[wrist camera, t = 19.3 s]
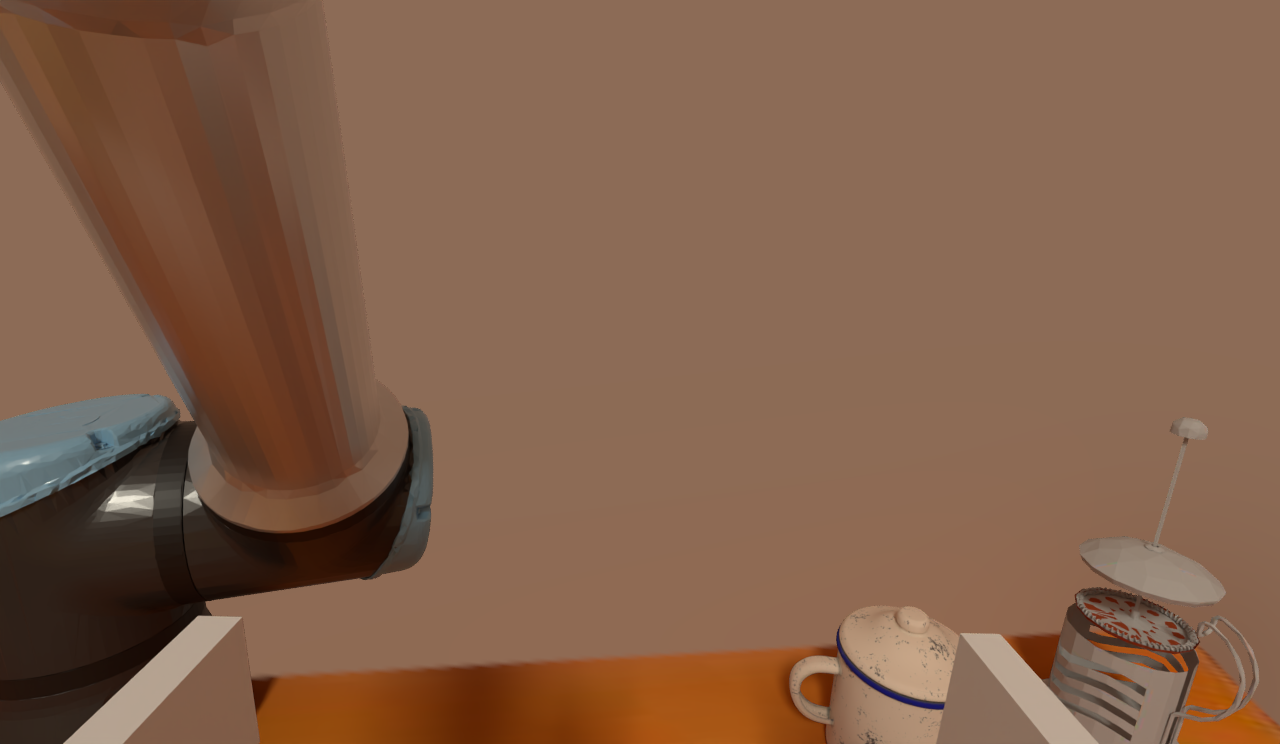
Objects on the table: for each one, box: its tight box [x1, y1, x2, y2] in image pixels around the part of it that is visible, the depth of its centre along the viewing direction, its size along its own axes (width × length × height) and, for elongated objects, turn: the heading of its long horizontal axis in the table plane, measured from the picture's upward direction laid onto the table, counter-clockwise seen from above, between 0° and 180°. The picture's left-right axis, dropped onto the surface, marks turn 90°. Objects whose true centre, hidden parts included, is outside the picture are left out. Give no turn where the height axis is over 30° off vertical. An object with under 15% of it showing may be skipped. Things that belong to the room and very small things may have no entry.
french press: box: [1042, 417, 1259, 744], centre depth 42 cm, size 10×12×25 cm
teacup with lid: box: [789, 606, 959, 744], centre depth 41 cm, size 12×9×12 cm
